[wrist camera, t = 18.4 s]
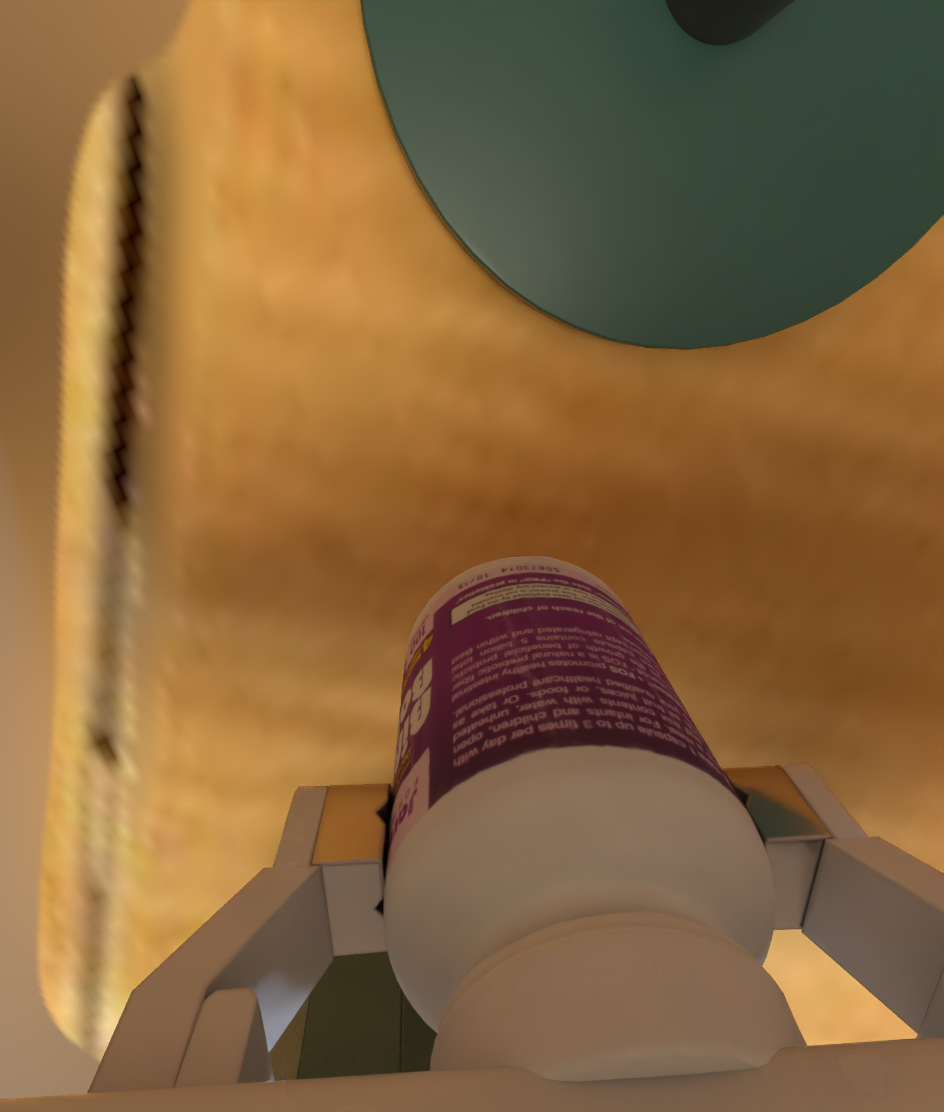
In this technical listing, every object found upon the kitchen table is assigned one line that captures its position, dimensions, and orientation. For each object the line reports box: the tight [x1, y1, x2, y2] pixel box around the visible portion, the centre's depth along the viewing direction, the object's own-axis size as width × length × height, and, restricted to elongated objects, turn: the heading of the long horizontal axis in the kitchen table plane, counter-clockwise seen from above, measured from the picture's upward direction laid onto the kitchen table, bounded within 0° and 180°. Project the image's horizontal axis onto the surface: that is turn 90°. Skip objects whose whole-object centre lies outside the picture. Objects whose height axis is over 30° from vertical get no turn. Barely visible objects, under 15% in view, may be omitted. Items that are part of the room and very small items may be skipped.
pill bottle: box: [383, 556, 807, 1081], centre depth 11 cm, size 5×5×10 cm
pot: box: [269, 951, 437, 1081], centre depth 19 cm, size 13×13×10 cm
